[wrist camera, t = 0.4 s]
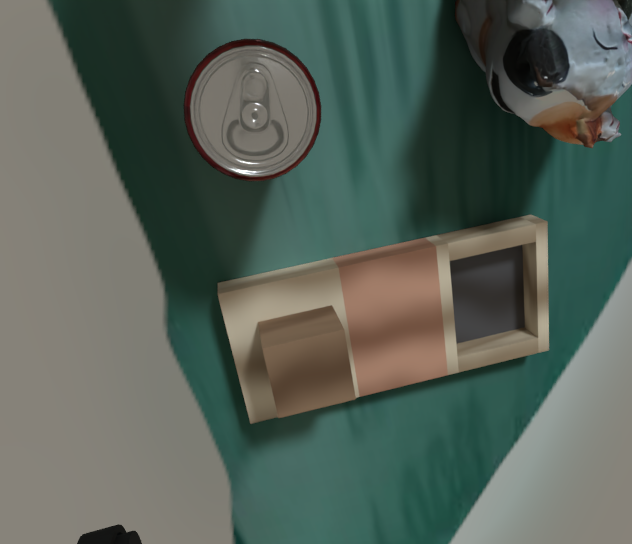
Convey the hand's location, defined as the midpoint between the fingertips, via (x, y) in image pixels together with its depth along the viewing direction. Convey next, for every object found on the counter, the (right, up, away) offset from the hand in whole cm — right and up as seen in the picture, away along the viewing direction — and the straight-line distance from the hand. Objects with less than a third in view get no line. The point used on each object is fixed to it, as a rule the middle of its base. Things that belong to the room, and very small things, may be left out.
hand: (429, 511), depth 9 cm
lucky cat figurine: (+14, +23, +32) cm, 42 cm away
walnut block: (-3, -2, +35) cm, 35 cm away
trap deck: (+4, 0, +38) cm, 38 cm away
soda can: (-7, +16, +30) cm, 35 cm away
